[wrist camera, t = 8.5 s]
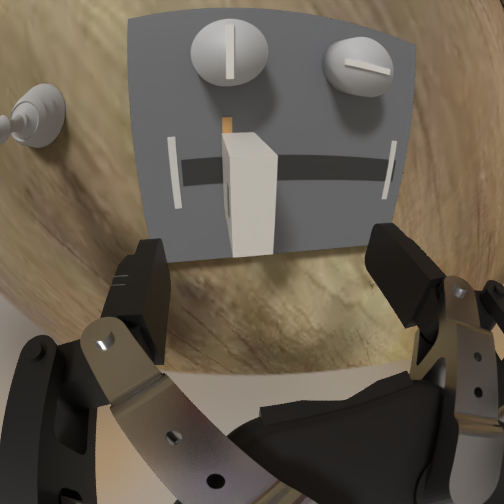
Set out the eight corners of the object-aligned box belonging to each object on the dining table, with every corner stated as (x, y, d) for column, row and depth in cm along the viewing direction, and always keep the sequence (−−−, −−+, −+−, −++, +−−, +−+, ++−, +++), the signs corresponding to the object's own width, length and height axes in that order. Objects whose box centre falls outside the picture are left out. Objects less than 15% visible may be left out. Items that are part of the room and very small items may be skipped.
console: (404, 45, 14) (438, 45, 11) (377, 235, 24) (399, 259, 21) (133, 23, 11) (115, 9, 8) (157, 252, 22) (151, 285, 18)
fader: (254, 132, 16) (279, 155, 11) (254, 204, 19) (274, 254, 14) (220, 133, 15) (228, 157, 11) (223, 206, 18) (231, 257, 13)
